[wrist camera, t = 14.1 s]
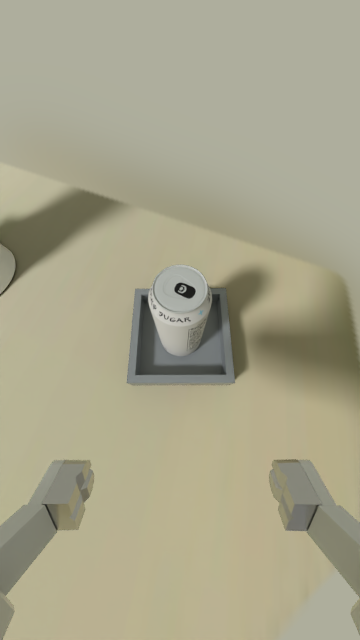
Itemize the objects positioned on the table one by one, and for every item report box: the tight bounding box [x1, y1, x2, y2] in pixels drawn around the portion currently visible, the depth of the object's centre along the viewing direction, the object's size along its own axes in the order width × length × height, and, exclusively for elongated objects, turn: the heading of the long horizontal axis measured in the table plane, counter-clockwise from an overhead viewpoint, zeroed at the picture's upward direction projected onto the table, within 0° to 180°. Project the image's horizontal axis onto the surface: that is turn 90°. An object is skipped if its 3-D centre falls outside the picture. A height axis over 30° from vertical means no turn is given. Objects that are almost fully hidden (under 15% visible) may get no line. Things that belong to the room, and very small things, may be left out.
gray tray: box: [127, 288, 235, 385], centre depth 31 cm, size 14×14×4 cm
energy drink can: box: [148, 265, 212, 356], centre depth 25 cm, size 6×6×15 cm
